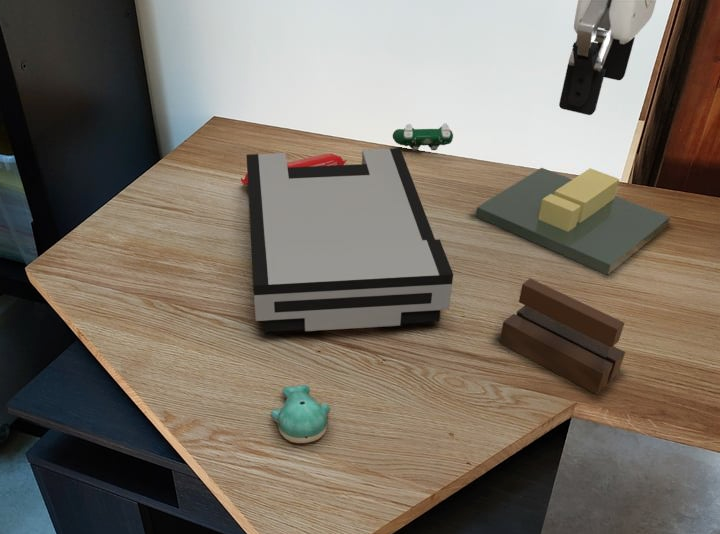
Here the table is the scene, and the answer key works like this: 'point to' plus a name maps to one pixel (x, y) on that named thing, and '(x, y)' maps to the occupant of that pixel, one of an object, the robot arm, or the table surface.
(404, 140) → the gaming controller
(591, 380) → the block
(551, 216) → the butter pat
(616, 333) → the bench scraper
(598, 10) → the robot arm
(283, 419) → the whale figurine
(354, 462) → the table surface
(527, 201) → the cutting board
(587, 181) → the butter stick
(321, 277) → the game console
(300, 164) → the candy bar
